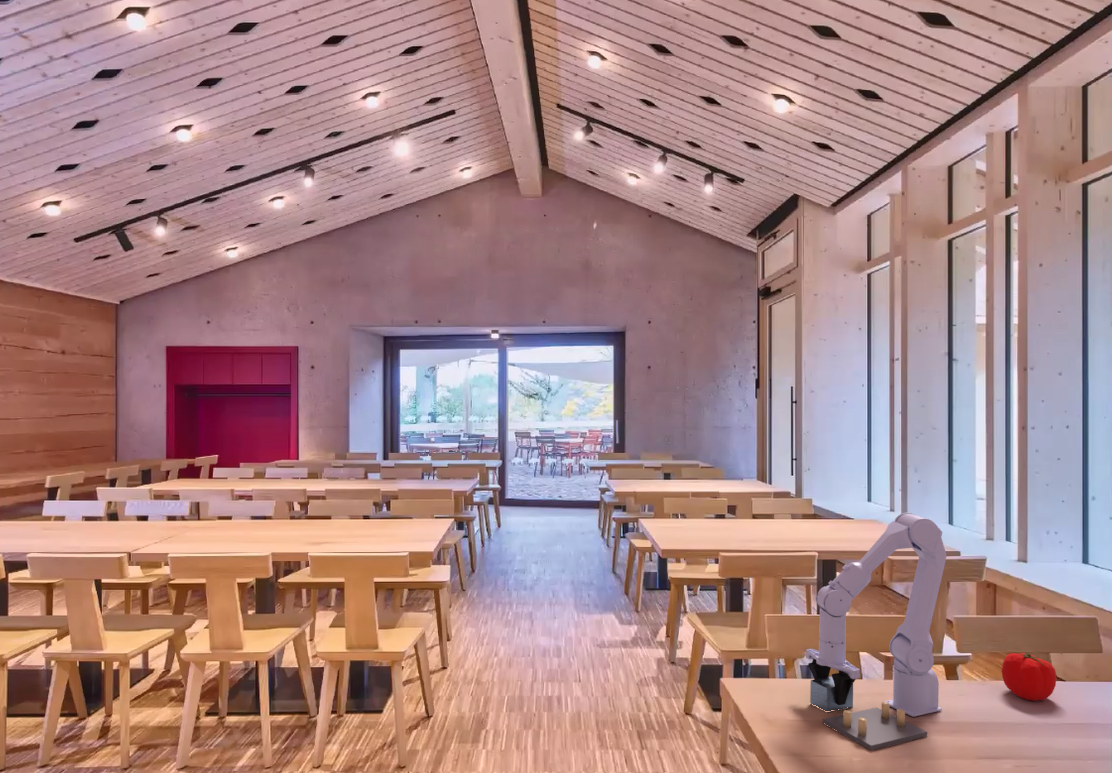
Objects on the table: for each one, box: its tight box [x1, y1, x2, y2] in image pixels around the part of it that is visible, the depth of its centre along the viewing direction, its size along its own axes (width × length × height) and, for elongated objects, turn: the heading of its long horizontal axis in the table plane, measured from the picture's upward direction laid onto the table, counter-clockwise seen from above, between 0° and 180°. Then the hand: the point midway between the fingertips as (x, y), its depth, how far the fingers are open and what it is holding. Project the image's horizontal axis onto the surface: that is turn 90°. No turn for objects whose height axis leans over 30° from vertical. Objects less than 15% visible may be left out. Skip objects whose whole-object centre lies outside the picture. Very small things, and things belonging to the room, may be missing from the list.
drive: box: [809, 675, 854, 711], centre depth 168 cm, size 8×5×6 cm, turn 115°
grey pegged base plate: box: [822, 701, 928, 751], centre depth 156 cm, size 16×13×4 cm
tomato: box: [1001, 651, 1057, 702], centre depth 175 cm, size 11×13×10 cm
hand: (831, 699), depth 168 cm, fingers closed on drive, 5 cm apart
